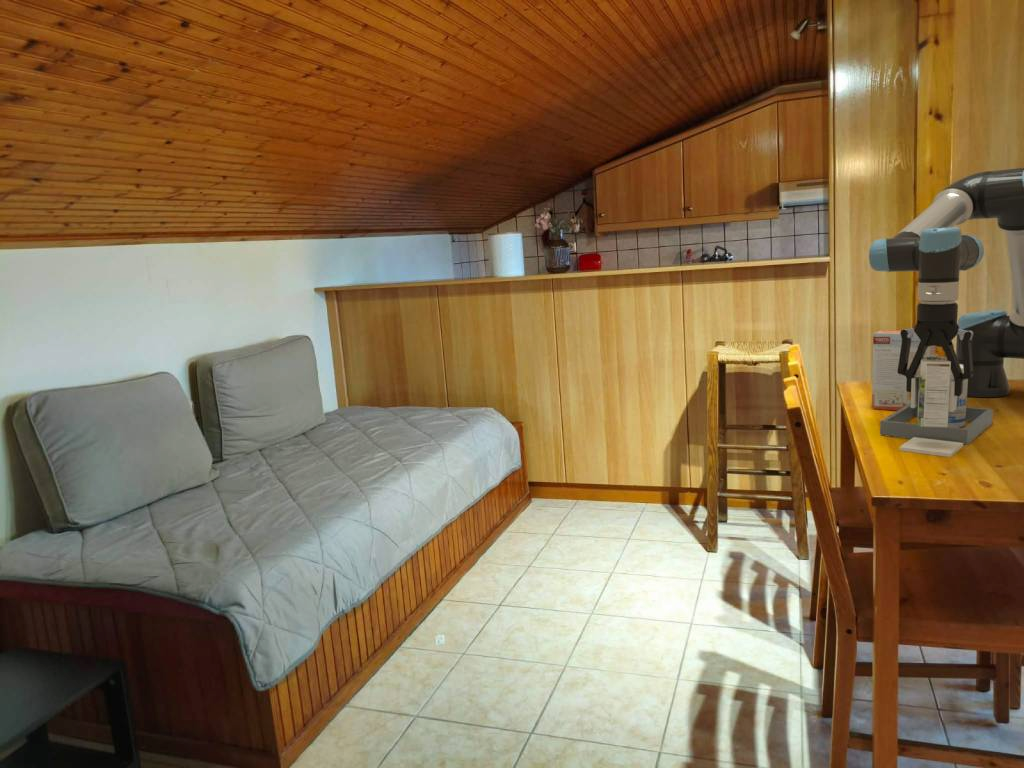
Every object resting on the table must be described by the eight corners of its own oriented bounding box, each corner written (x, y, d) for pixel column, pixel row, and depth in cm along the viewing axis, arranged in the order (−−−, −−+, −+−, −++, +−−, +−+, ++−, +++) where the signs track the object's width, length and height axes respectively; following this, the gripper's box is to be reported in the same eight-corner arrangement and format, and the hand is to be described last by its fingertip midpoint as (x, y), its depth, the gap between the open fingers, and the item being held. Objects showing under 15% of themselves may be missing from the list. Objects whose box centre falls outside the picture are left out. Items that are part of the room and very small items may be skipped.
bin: (911, 415, 197) (911, 402, 196) (992, 423, 185) (993, 409, 184) (880, 435, 180) (880, 420, 179) (966, 445, 168) (967, 430, 167)
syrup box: (917, 420, 170) (918, 356, 168) (947, 422, 167) (949, 356, 165) (917, 426, 165) (919, 360, 163) (949, 428, 162) (951, 360, 160)
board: (913, 440, 174) (913, 437, 174) (963, 446, 167) (963, 442, 167) (899, 450, 167) (899, 447, 167) (950, 457, 160) (950, 453, 160)
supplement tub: (946, 431, 180) (949, 370, 177) (911, 424, 188) (913, 365, 186) (974, 426, 184) (978, 365, 181) (939, 418, 192) (941, 360, 190)
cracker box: (934, 409, 202) (937, 330, 198) (928, 414, 197) (931, 333, 194) (877, 404, 211) (880, 329, 207) (870, 409, 207) (872, 331, 203)
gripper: (882, 303, 166) (879, 407, 170) (987, 304, 152) (981, 417, 156) (893, 300, 171) (890, 401, 175) (995, 300, 158) (989, 409, 162)
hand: (933, 408), depth 166 cm, fingers closed on syrup box, 7 cm apart
